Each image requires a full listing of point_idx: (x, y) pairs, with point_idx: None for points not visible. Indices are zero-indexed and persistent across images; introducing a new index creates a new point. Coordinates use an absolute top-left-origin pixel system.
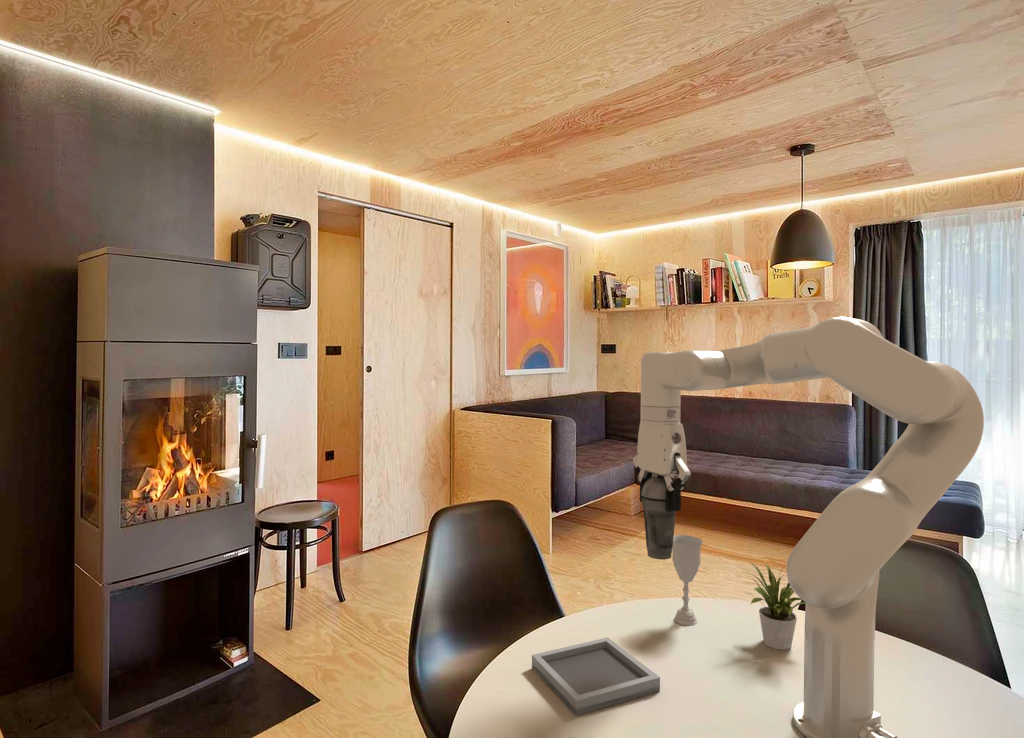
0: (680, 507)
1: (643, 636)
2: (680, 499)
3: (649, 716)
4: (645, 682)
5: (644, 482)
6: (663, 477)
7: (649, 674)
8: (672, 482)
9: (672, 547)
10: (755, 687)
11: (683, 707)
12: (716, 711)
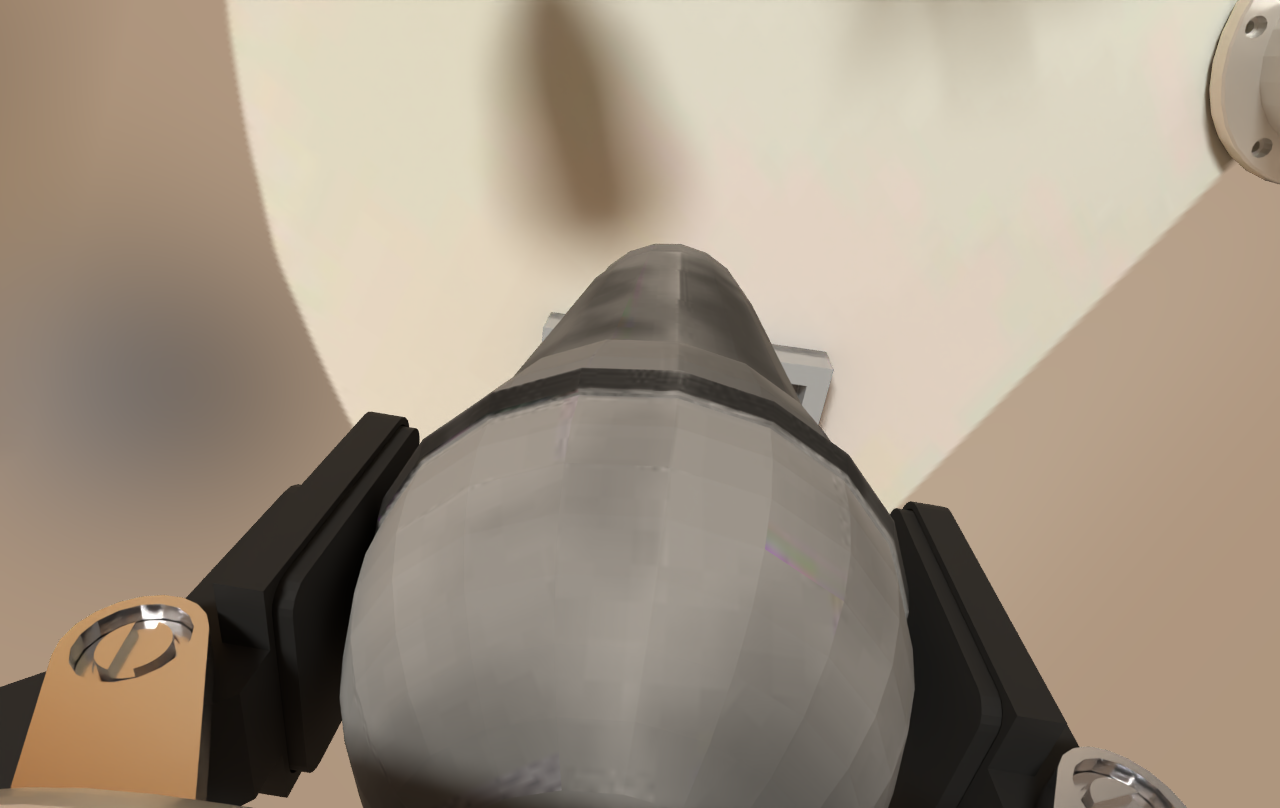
0: (950, 520)
1: (532, 121)
2: (993, 599)
3: (881, 454)
4: (819, 417)
5: (286, 753)
6: (535, 771)
7: (801, 383)
8: (828, 749)
9: (743, 293)
10: (1034, 51)
11: (920, 355)
12: (1000, 292)
